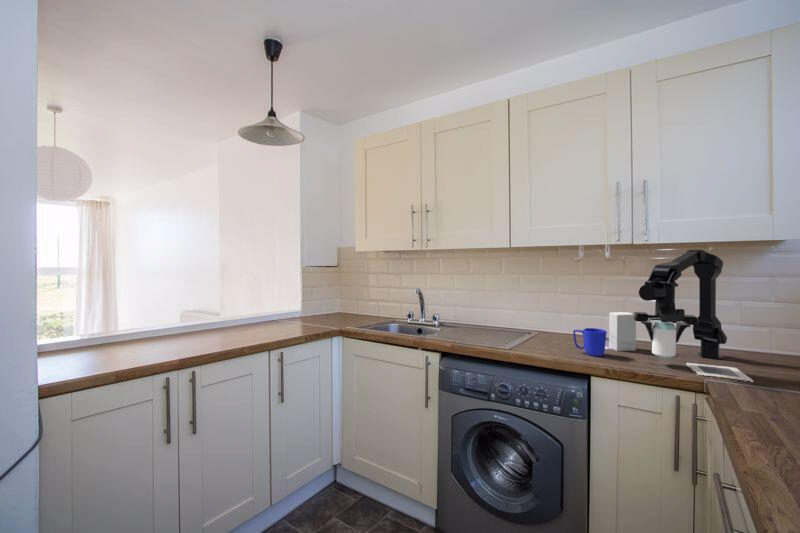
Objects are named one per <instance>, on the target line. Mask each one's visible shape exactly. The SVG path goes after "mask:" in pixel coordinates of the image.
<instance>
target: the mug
mask: <svg viewBox="0 0 800 533" xmlns="http://www.w3.org/2000/svg"><path fill="white" fill-rule="evenodd" d="M576 332H578V333H581V334H582V336H583V337H582V338H583V346H582V347H581V346H579V344H578V343H577V340H576V339H577V338H576ZM607 332H608V331H607V330H605V329H602V328H595V327H592V328H591V327H587V328H584V329H574V330H573V332H572V333H573V334H572V335H573V342H574V345H575V347H576V348H577V349H580V350H584V353H585V354H586V355H588V356H592V357H603V355H604V354H605V351H606V350H605V349H606V348H605V342H606V340H607Z"/></svg>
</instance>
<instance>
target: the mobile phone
mask: <svg viewBox="0 0 800 533" xmlns="http://www.w3.org/2000/svg"><path fill="white" fill-rule="evenodd" d="M605 349H606V350H614V349H613V348H612V347H610V346H609V339H606V342H605Z"/></svg>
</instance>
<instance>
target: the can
mask: <svg viewBox="0 0 800 533" xmlns="http://www.w3.org/2000/svg"><path fill="white" fill-rule="evenodd" d="M652 334H653V341H651V353H652V354H653V355H654V356H657V357H660V358H665V359H666V358H667V359H672V358H674V357H676V354H677V353H676V352H677V343H676V325H675V323H672V322H666V323H665V322H661V321H655V322H654V325H653V324H652Z"/></svg>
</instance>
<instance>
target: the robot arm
mask: <svg viewBox="0 0 800 533" xmlns="http://www.w3.org/2000/svg"><path fill="white" fill-rule="evenodd" d="M723 266H724V262H723V260H722V259H721V258H720V257H719V256H717V255H715V254H712V253H709V252H706V251H705V250H704V249H689V250H686V252H685V253H683V254H681V255H680V256H678V257H677V258H675V259H672V260H671V261H669V262H663V263H659V264H656V265H655V266H653V268H652V269H651V272H650V274H649V275H648V278H647V279H646V281H644V284H643V285H641V286H640V288H639V290H638V295H639V297H640V299H642V300H643V301H645V302H646V301H647V302H649V301H650V302H651V301H655V303H654V304H655V308H654V314H648V313H647V312H645V311H644V312H643V311H634V312H633V319H634V320H635V321H636V322H640V323H641V324H642V325H644V326H645V328H646V331H647V333H648V337H649V339H650V341H651V342H652V341H653V334H652V328H653V323H652V322H651V321H659V322H665V323H666V322H668V323H673V324H675V328H676V344H678V342H679V341H680V338H681V337H682V334H683V332H684V331H685V330H686V329H687V328H691V326H692V333H693V338H694V340H698V341H700V350H699V351H700V352H699V351H698V352H697V353H696V354H697V355H698V356H700V357H701V358H706V359H713V360H714V359H717V360H723V359H724V358H723V357H722V356H721V355H720V345H725V344H727V341H728V336H727V335H726V334H725V332H724V330H723V329H722V328H723V327H722V322H721V321H720V320H719V318H718V317H717V315H716V313H717V312H716V311H717V310H716V308H717V304H716V303H717V296H716V295H717V287H716V286H717V279H718V277H719V276H720V275H721V273H722V270H723ZM690 267H693V273H694V274H695V275H696V277H697V278H698V280H699V281H698V282H699V288H698V290H699V291H698V292H699V297H698V298H699V300H698V301H699V303H698V304H699V310H698V311H699V315H698V316H695V315H693V314H685V309H684V308H677V309H676V288H677V287H679V284H678V283H677V282H676V281H678V280H679V278H681V277H682V272H683V271H685V270H687V269H688V268H690Z"/></svg>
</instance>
